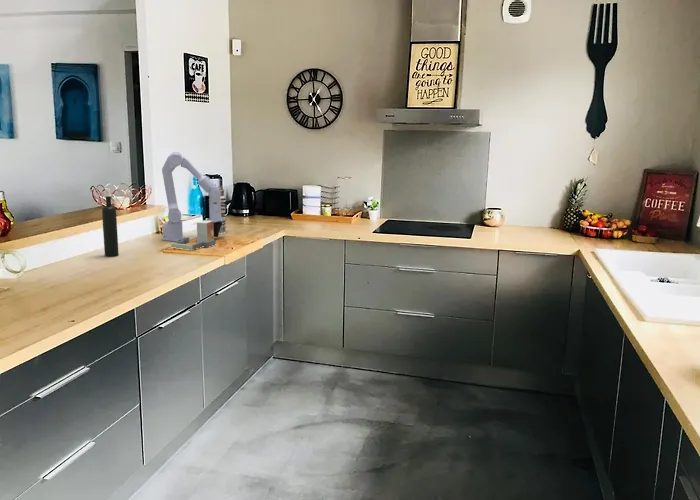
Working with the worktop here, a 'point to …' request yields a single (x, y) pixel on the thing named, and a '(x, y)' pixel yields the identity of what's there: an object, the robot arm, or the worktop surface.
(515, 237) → the worktop surface
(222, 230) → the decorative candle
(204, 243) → the keyhole jig
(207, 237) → the small box
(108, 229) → the wine bottle
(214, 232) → the robot arm
